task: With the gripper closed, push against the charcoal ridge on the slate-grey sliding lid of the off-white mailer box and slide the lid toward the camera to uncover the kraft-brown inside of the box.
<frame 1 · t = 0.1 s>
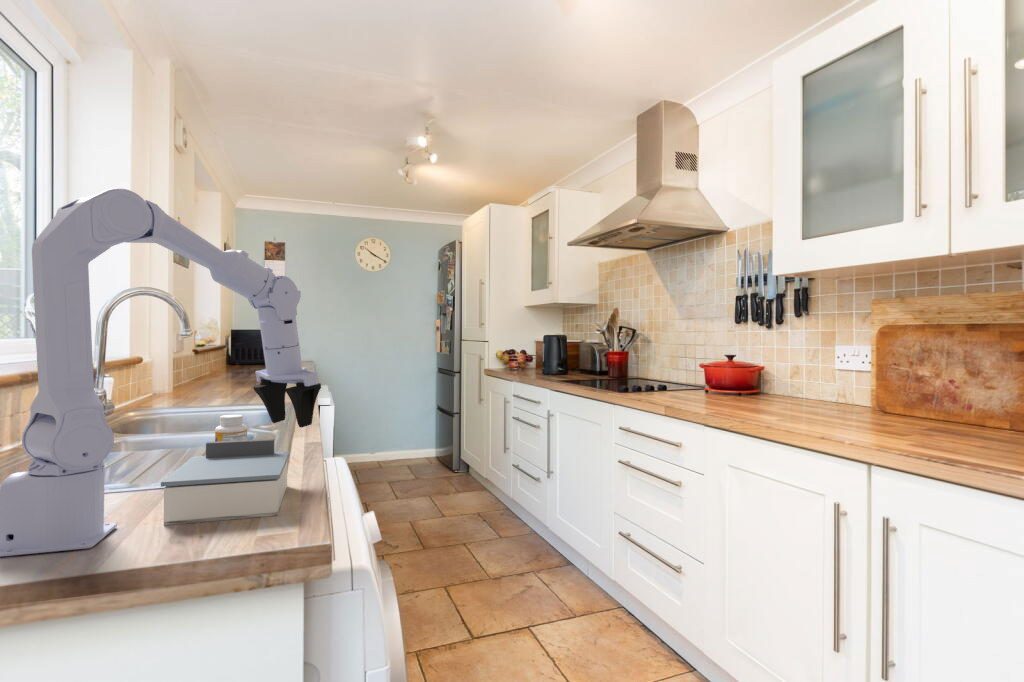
hand: (291, 423, 92), 10 cm above the counter, tool pointing down, fingers open, 7 cm apart
supplement bottle: (230, 469, 103), on the counter
lid: (233, 458, 81), point 7 cm above the counter, slide at 0.0 cm
mailer box: (232, 503, 81), on the counter
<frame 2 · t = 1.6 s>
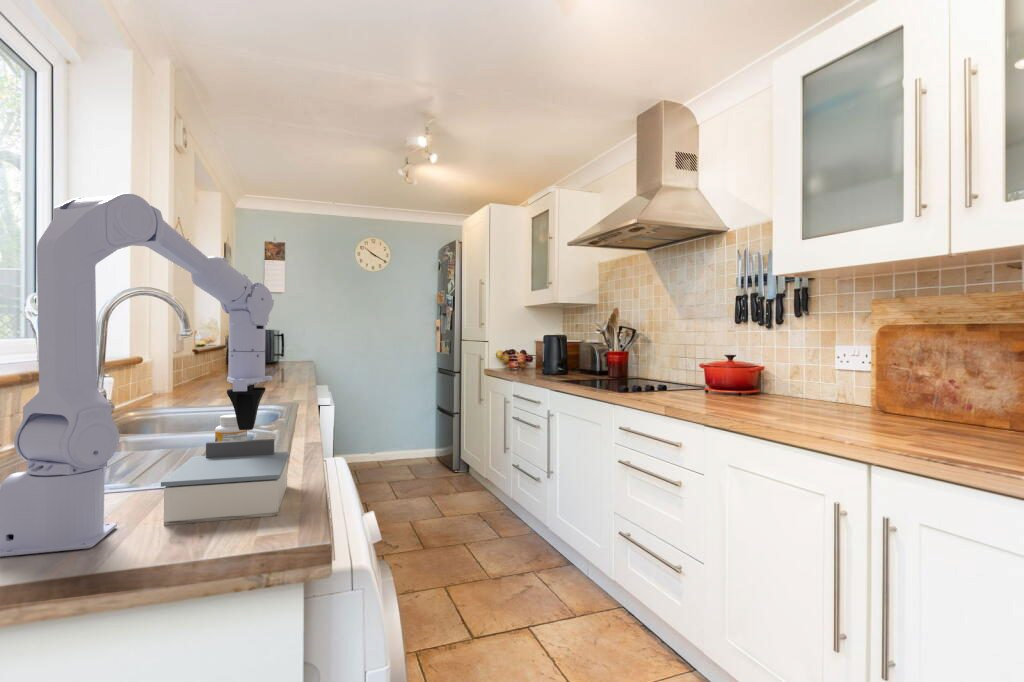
hand: (246, 429, 92), 9 cm above the counter, tool pointing down, fingers closed
nothing on the counter moved.
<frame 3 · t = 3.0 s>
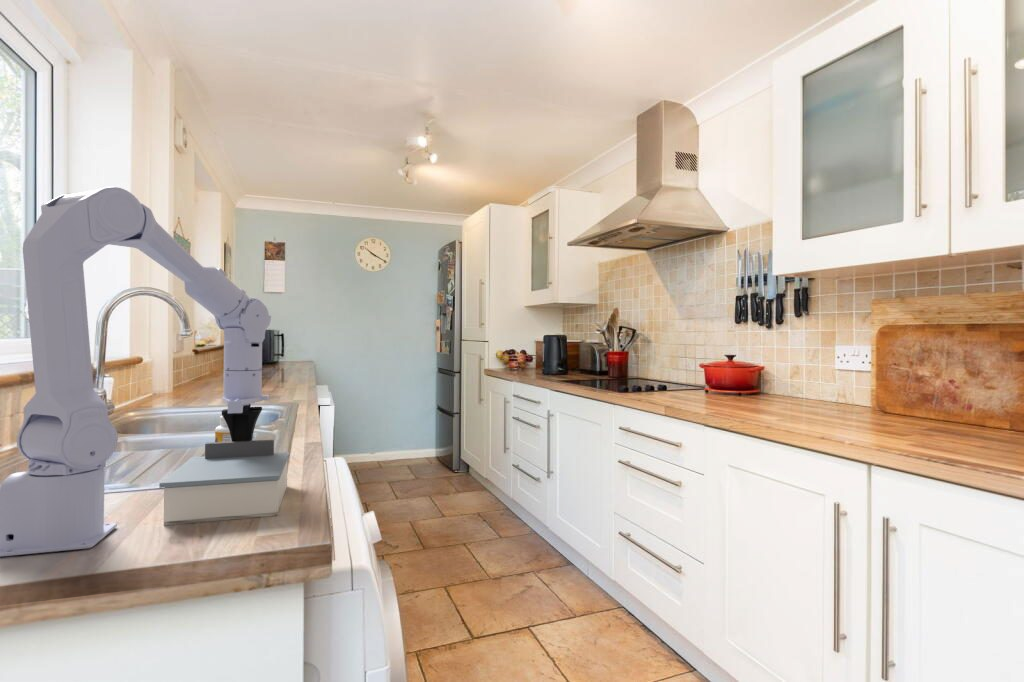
hand: (242, 451, 88), 6 cm above the counter, tool pointing down, fingers closed
lid: (232, 459, 80), point 7 cm above the counter, slide at 0.6 cm, touching gripper
everything else where it was.
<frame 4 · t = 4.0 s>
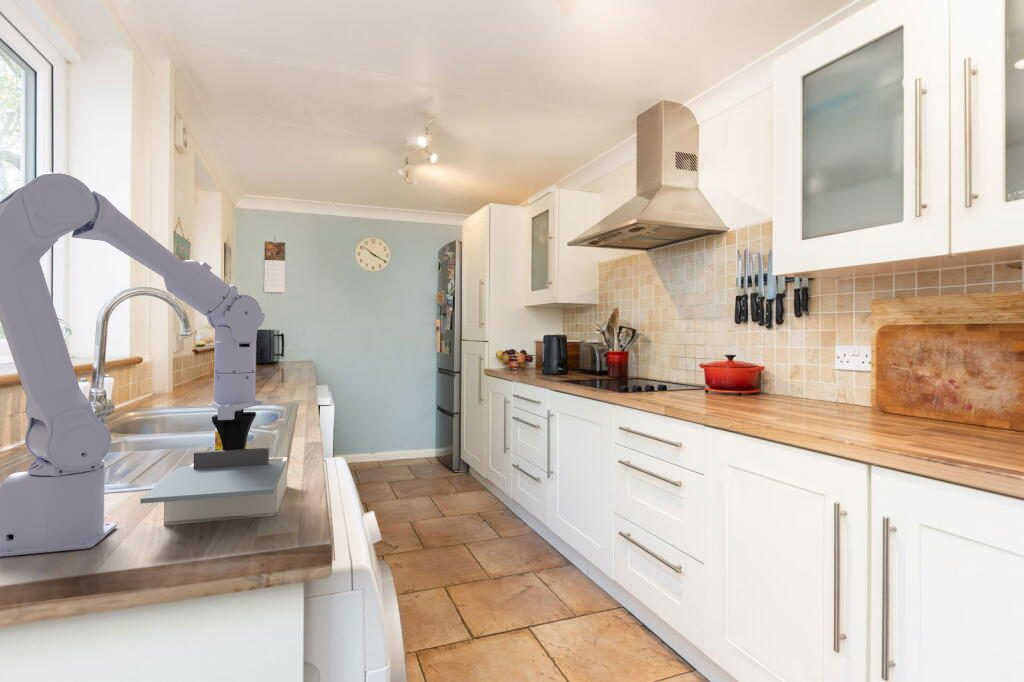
hand: (234, 460, 82), 6 cm above the counter, tool pointing down, fingers closed
lid: (223, 470, 73), point 7 cm above the counter, slide at 7.7 cm, touching gripper
everything else where it was.
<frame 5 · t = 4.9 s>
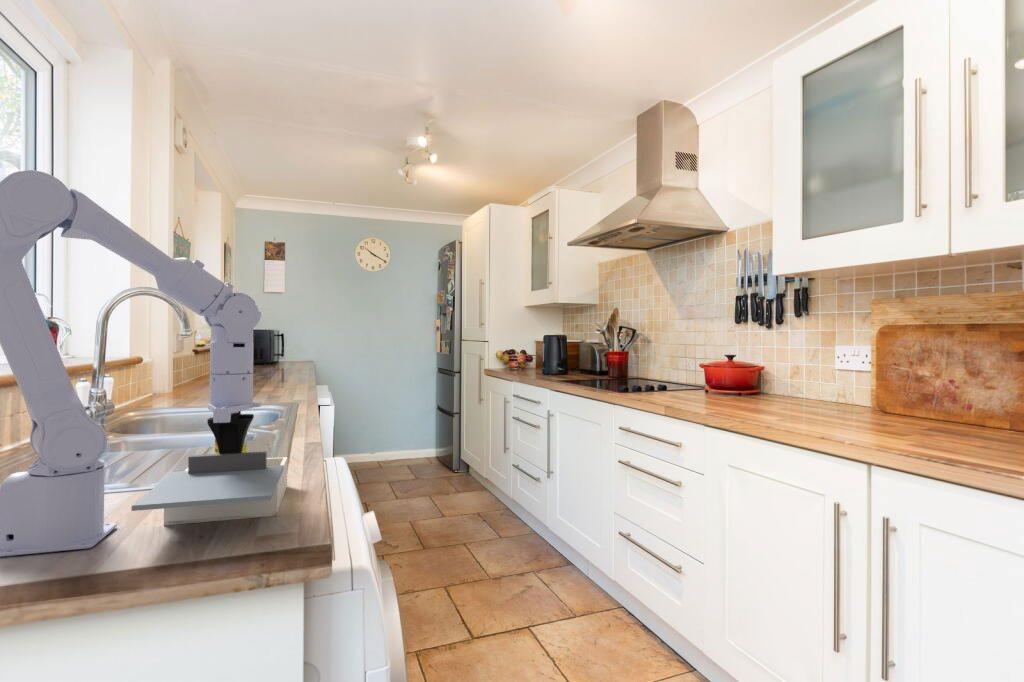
hand: (230, 464, 79), 6 cm above the counter, tool pointing down, fingers closed
lid: (218, 475, 71), point 7 cm above the counter, slide at 10.6 cm, touching gripper
everything else where it was.
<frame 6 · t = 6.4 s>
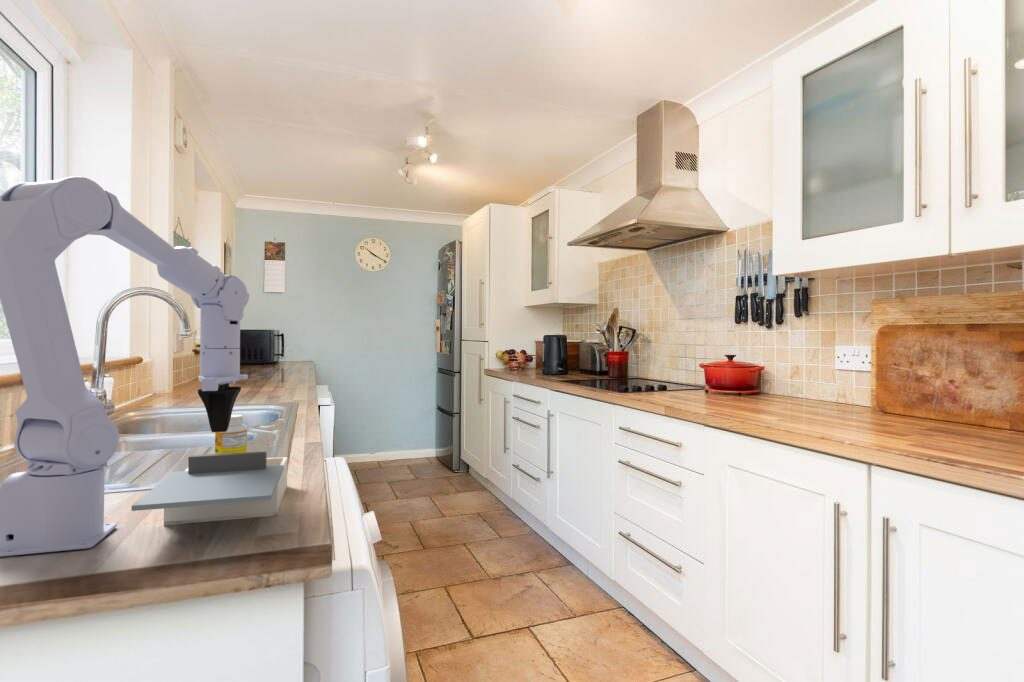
hand: (219, 431, 87), 10 cm above the counter, tool pointing down, fingers closed
lid: (218, 475, 71), point 7 cm above the counter, slide at 10.6 cm
everything else where it was.
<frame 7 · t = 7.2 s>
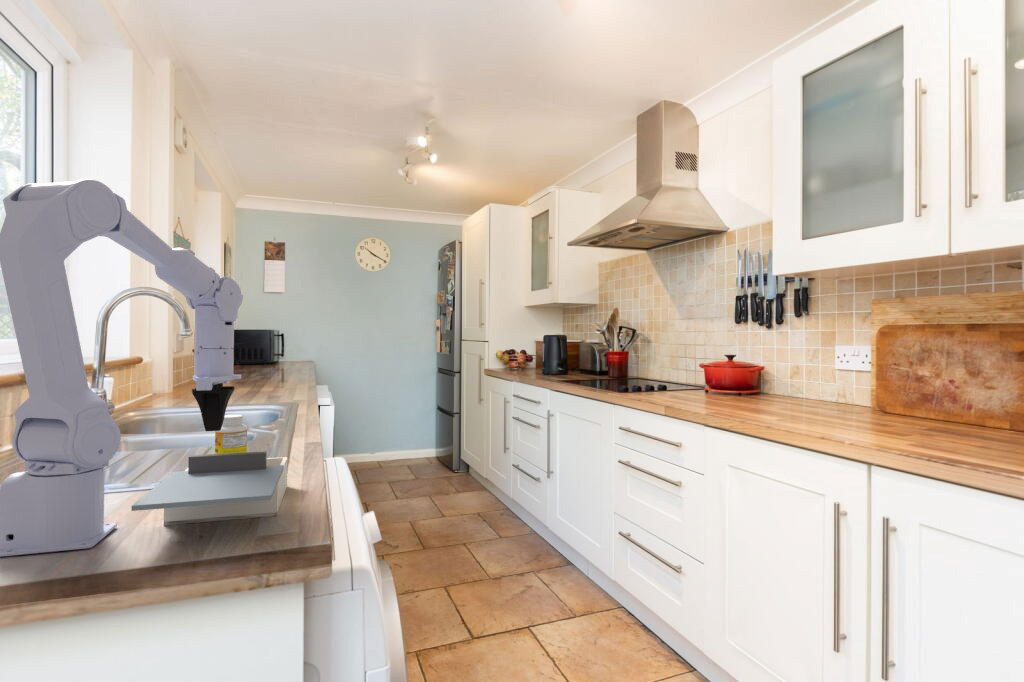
hand: (213, 430, 88), 10 cm above the counter, tool pointing down, fingers closed
nothing on the counter moved.
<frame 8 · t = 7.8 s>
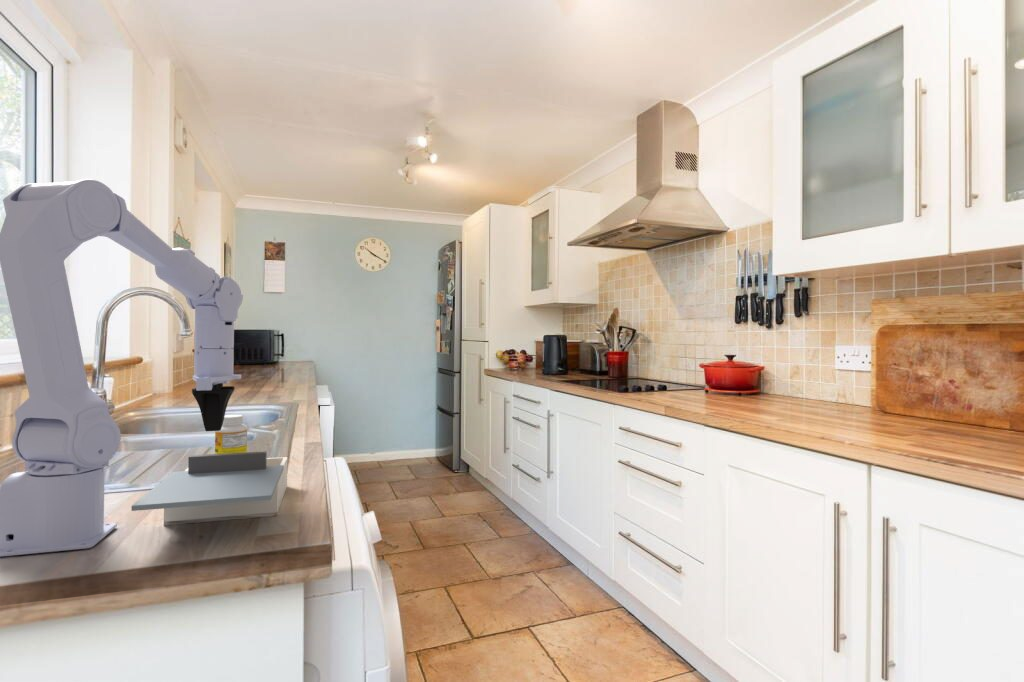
hand: (213, 430, 88), 10 cm above the counter, tool pointing down, fingers closed
nothing on the counter moved.
at the end: lid slide at 10.6 cm; supplement bottle moved 0.2 cm from its start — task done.
